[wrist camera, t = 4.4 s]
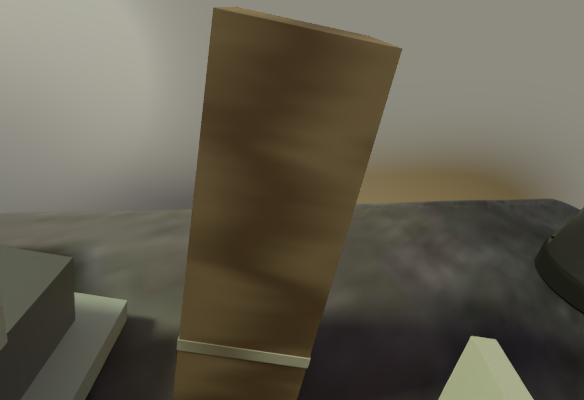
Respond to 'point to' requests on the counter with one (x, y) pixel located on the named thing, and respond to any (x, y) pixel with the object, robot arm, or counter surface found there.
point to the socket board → (82, 349)
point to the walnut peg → (273, 197)
